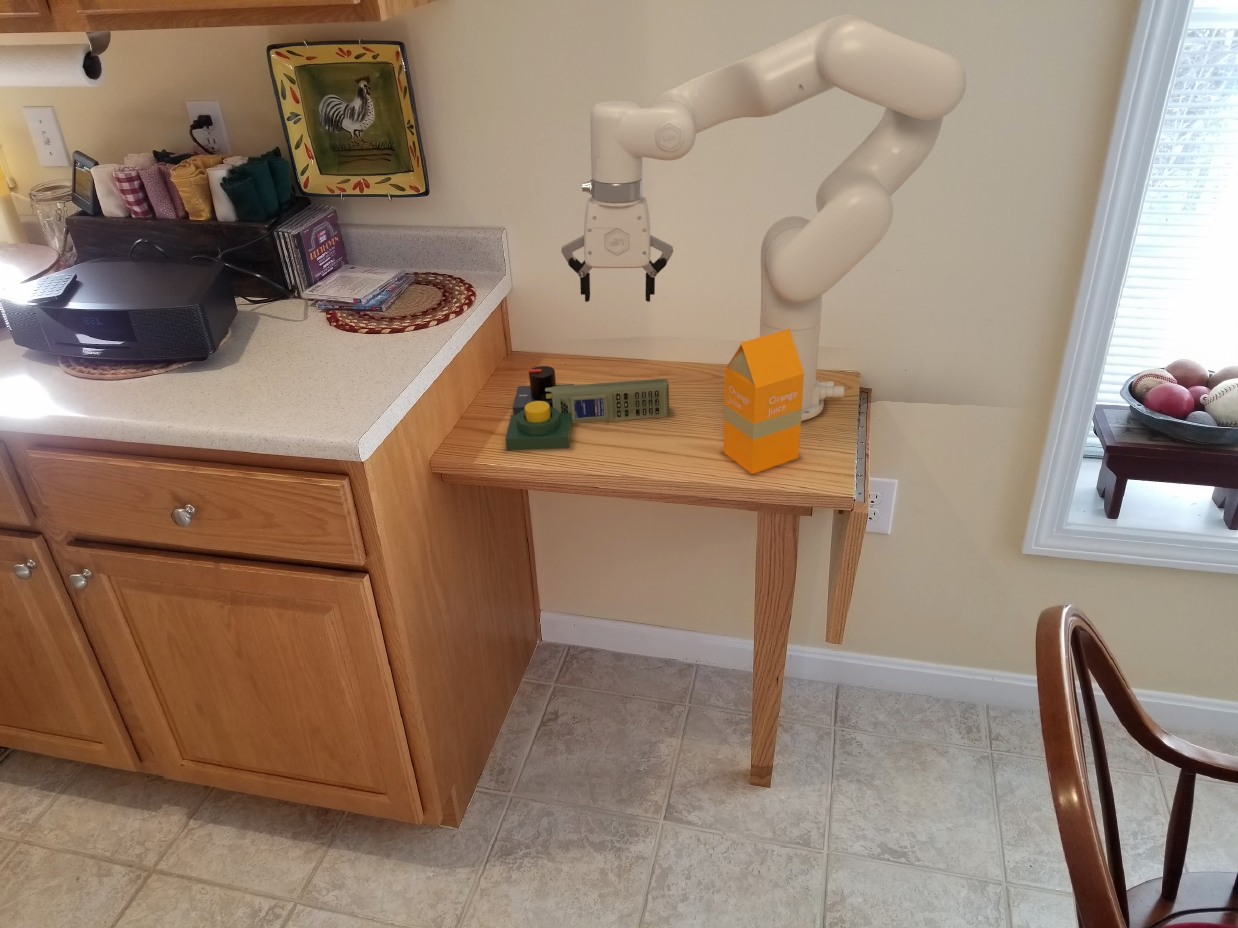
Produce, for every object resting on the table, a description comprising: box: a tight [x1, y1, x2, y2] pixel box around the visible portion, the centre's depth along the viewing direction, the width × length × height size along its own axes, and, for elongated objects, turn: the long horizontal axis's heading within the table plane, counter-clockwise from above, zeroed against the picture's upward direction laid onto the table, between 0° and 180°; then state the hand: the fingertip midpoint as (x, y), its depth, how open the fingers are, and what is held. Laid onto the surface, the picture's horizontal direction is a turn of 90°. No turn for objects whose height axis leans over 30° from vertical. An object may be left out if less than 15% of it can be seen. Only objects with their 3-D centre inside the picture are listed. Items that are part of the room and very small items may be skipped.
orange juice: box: [723, 329, 804, 475], centre depth 135 cm, size 8×9×20 cm
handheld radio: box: [545, 378, 670, 424], centre depth 152 cm, size 7×3×25 cm
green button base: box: [505, 407, 573, 451], centre depth 147 cm, size 10×8×4 cm
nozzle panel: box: [512, 383, 575, 415], centre depth 156 cm, size 10×9×3 cm
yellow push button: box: [525, 401, 551, 423], centre depth 146 cm, size 4×4×2 cm
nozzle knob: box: [528, 365, 557, 401], centre depth 154 cm, size 4×4×5 cm
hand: (617, 298), depth 145 cm, fingers open, 9 cm apart
